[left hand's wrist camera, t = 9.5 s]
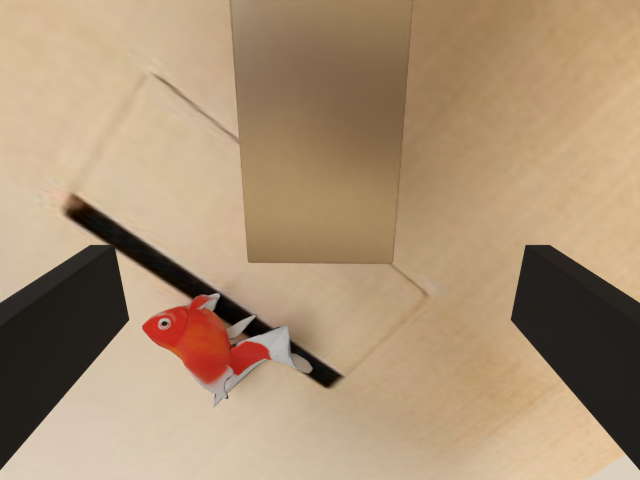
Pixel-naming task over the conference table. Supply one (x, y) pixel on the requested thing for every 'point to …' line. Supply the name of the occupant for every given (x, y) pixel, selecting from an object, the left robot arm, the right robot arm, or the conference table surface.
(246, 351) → the fish
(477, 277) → the conference table surface
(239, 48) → the bar
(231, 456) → the conference table surface
